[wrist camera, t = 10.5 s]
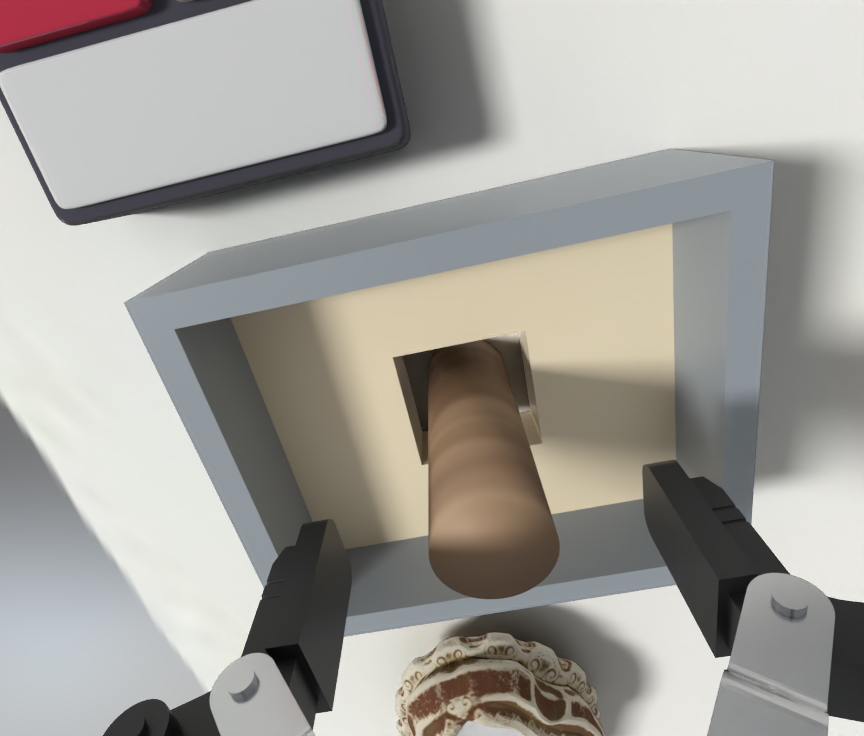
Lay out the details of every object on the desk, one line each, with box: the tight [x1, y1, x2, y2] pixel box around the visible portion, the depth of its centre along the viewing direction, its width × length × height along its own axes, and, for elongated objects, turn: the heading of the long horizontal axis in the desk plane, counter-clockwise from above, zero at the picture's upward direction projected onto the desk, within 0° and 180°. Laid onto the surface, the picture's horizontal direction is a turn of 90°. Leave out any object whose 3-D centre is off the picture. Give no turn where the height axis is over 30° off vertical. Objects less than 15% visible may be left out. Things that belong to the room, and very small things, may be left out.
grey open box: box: [124, 149, 774, 637], centre depth 19 cm, size 14×17×6 cm
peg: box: [428, 340, 560, 599], centre depth 17 cm, size 3×3×10 cm
